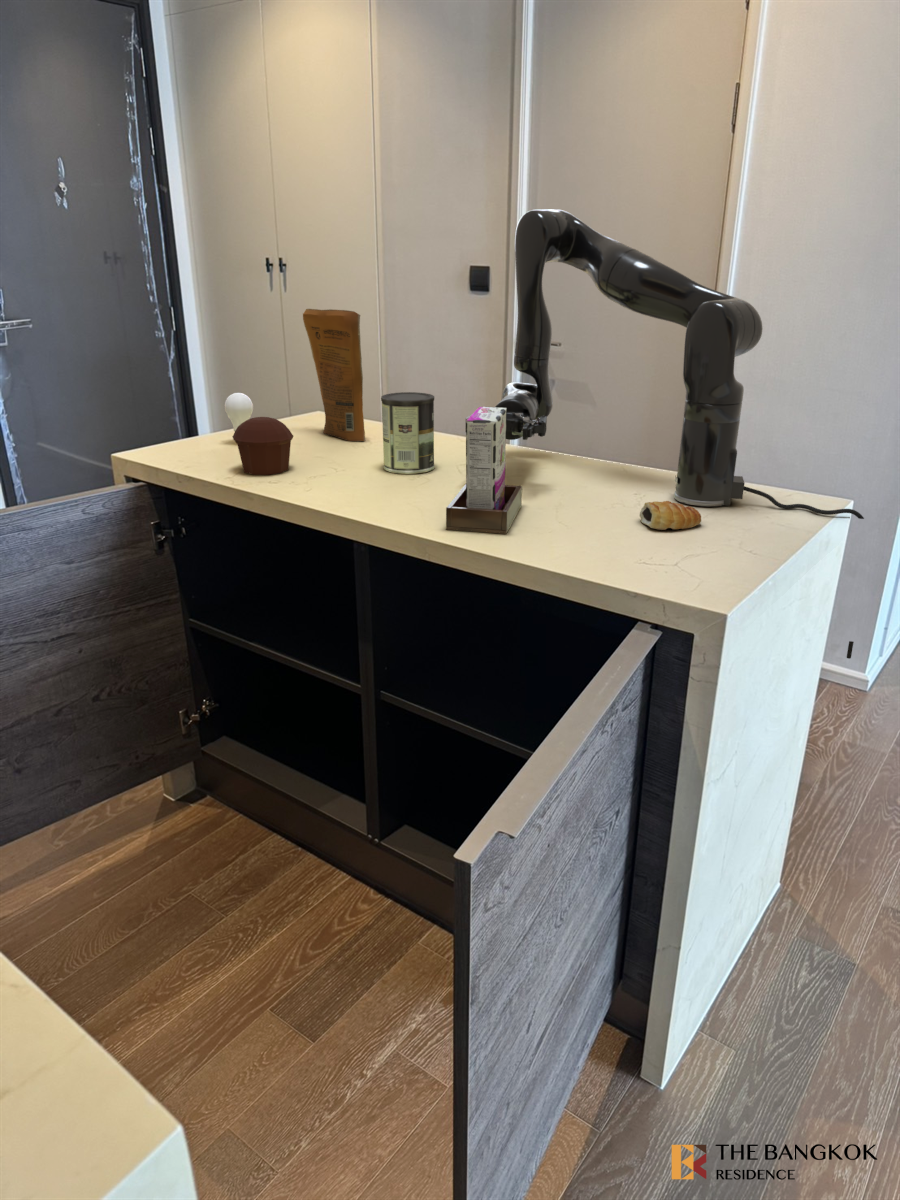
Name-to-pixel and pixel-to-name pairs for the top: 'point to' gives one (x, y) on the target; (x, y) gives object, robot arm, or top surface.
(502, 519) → the open box
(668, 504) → the pastry
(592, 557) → the top surface
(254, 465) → the muffin
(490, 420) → the candy bar box
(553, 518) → the top surface
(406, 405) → the coffee can
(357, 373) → the pancake mix bag
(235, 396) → the lightbulb
